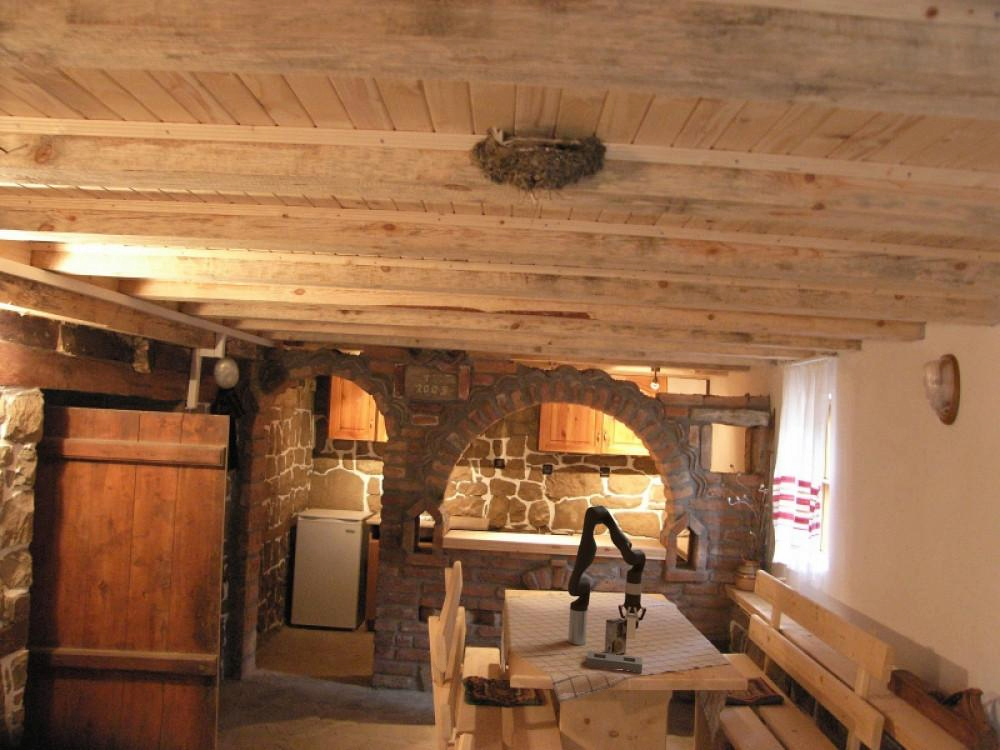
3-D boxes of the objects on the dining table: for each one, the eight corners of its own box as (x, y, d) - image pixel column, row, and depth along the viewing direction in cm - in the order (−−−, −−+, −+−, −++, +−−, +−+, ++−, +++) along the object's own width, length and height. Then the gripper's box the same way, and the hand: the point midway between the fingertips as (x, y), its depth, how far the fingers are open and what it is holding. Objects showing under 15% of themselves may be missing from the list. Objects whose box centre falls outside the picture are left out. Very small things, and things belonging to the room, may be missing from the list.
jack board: (587, 659, 371) (588, 651, 372) (641, 666, 367) (641, 657, 367) (586, 666, 362) (586, 657, 362) (641, 673, 357) (642, 664, 357)
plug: (626, 636, 366) (627, 613, 366) (634, 637, 365) (636, 614, 365) (626, 638, 362) (627, 615, 362) (634, 639, 361) (636, 616, 362)
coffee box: (618, 649, 390) (620, 617, 390) (626, 653, 384) (628, 621, 385) (603, 651, 386) (605, 619, 386) (611, 655, 380) (613, 622, 381)
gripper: (648, 591, 367) (646, 627, 366) (618, 588, 369) (616, 624, 369) (648, 595, 359) (646, 632, 359) (618, 592, 362) (615, 628, 361)
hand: (631, 627), depth 364 cm, fingers closed on plug, 4 cm apart
